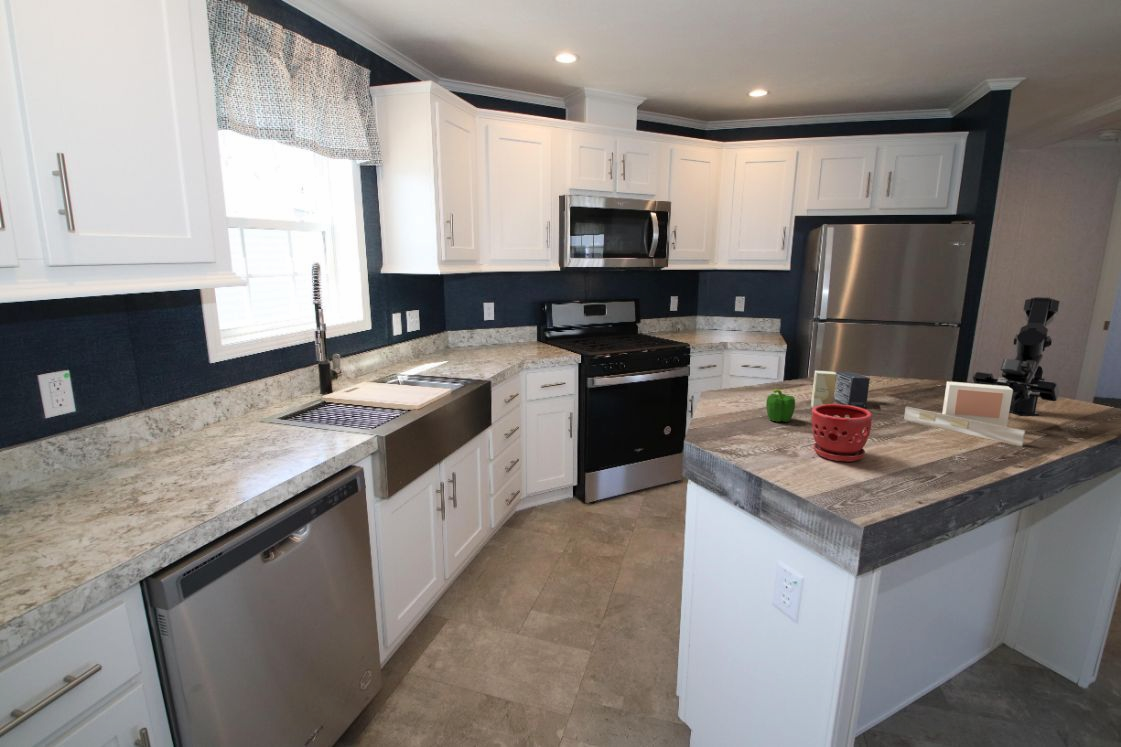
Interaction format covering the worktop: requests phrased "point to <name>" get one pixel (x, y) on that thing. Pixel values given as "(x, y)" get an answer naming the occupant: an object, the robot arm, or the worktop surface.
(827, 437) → the plant pot
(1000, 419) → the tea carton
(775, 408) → the bell pepper
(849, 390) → the small box
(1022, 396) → the robot arm
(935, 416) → the shelf board
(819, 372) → the skincare box
